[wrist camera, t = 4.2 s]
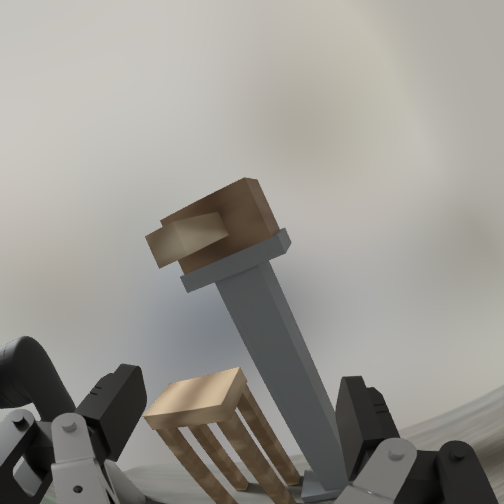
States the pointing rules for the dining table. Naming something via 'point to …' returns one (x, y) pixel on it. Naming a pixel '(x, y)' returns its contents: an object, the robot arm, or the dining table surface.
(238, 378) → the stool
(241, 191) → the mallet
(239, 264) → the stand
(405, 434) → the dining table surface
